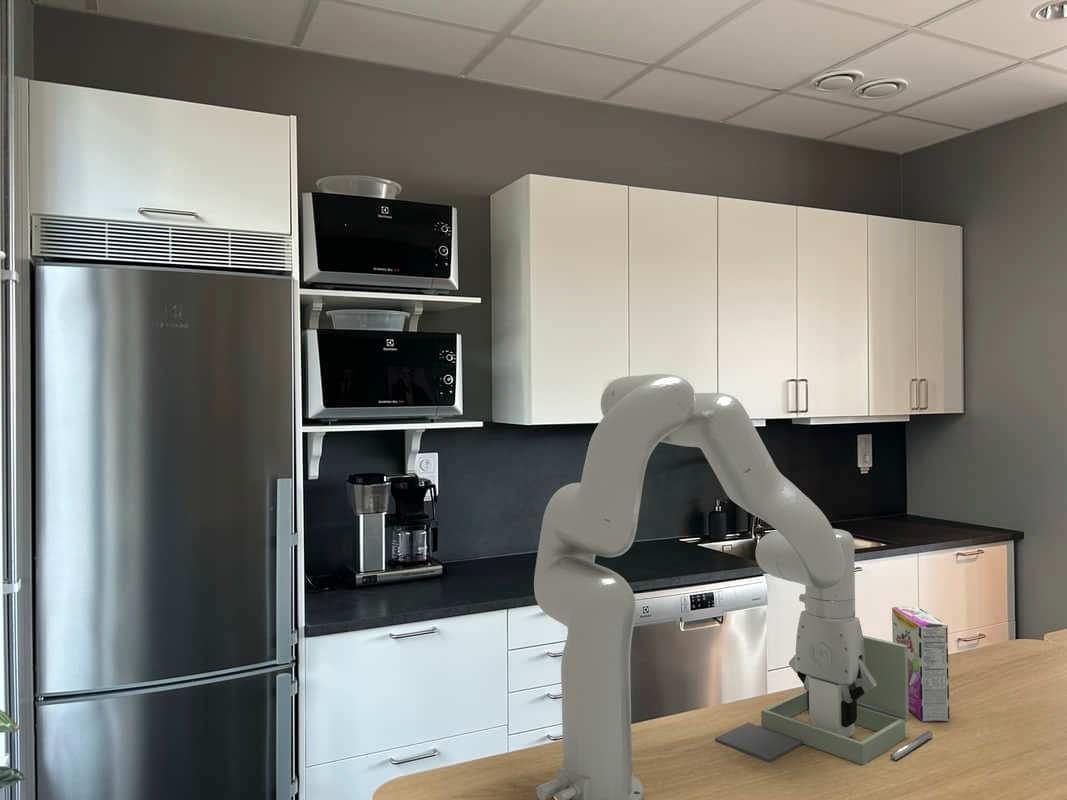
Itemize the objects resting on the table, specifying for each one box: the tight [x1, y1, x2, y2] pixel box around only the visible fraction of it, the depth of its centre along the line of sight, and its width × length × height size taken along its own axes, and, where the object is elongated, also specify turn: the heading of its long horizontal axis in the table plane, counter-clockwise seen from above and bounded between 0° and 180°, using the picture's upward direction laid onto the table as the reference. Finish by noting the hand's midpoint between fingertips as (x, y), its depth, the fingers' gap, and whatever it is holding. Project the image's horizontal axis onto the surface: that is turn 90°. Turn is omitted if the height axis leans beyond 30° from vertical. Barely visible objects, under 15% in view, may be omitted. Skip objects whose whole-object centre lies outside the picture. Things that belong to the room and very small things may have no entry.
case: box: [760, 635, 910, 766], centre depth 129 cm, size 15×17×14 cm
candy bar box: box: [891, 606, 950, 723], centre depth 138 cm, size 11×5×16 cm, turn 179°
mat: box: [714, 721, 804, 763], centre depth 126 cm, size 9×10×1 cm
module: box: [808, 676, 856, 738], centre depth 129 cm, size 5×5×10 cm
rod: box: [889, 730, 934, 761], centre depth 123 cm, size 12×1×1 cm, turn 130°
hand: (831, 718), depth 129 cm, fingers closed on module, 5 cm apart
